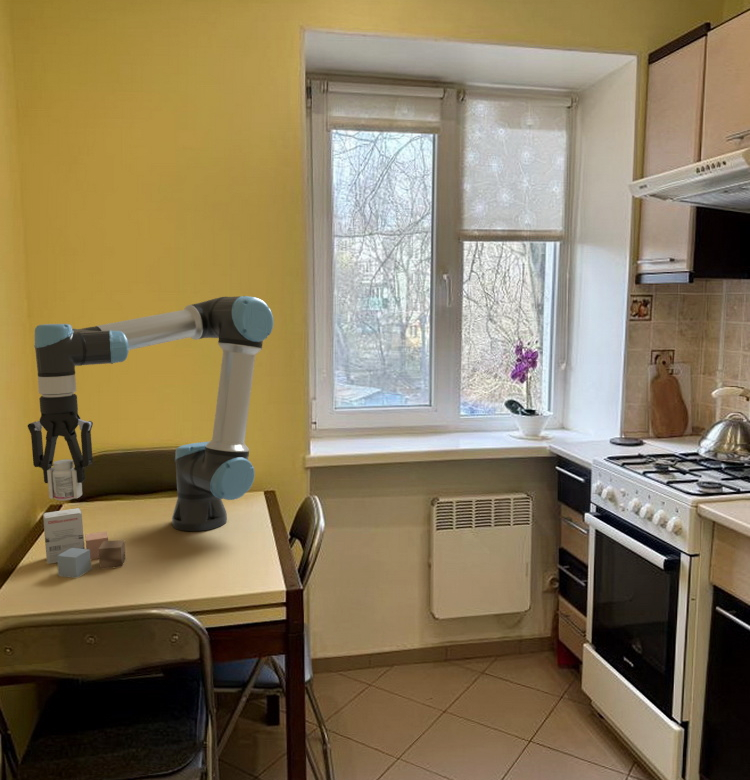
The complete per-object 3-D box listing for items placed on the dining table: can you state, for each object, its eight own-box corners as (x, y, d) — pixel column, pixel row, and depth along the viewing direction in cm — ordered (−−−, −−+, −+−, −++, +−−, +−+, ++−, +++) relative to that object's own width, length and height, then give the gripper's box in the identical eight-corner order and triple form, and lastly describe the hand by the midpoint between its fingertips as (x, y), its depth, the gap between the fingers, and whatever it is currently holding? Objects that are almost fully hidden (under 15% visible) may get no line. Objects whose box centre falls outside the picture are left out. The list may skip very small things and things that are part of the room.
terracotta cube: (107, 549, 171) (106, 531, 170) (109, 556, 167) (108, 537, 166) (86, 553, 169) (85, 534, 168) (87, 560, 164) (86, 540, 164)
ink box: (83, 551, 170) (80, 507, 168) (85, 558, 165) (82, 512, 164) (46, 557, 166) (42, 512, 164) (47, 564, 161) (43, 518, 160)
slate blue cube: (91, 569, 159) (89, 549, 158) (77, 578, 154) (75, 557, 153) (73, 567, 160) (71, 547, 159) (58, 576, 155) (57, 555, 154)
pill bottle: (59, 495, 152) (56, 459, 151) (80, 494, 153) (78, 458, 152) (51, 501, 148) (48, 464, 146) (73, 500, 148) (70, 463, 147)
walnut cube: (125, 559, 165) (124, 539, 164) (122, 567, 160) (120, 547, 159) (104, 560, 164) (102, 541, 163) (100, 568, 159) (98, 548, 158)
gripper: (105, 391, 151) (112, 491, 154) (25, 392, 150) (34, 492, 154) (91, 396, 143) (99, 501, 147) (8, 397, 143) (17, 502, 146)
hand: (66, 496), depth 150 cm, fingers closed on pill bottle, 5 cm apart
